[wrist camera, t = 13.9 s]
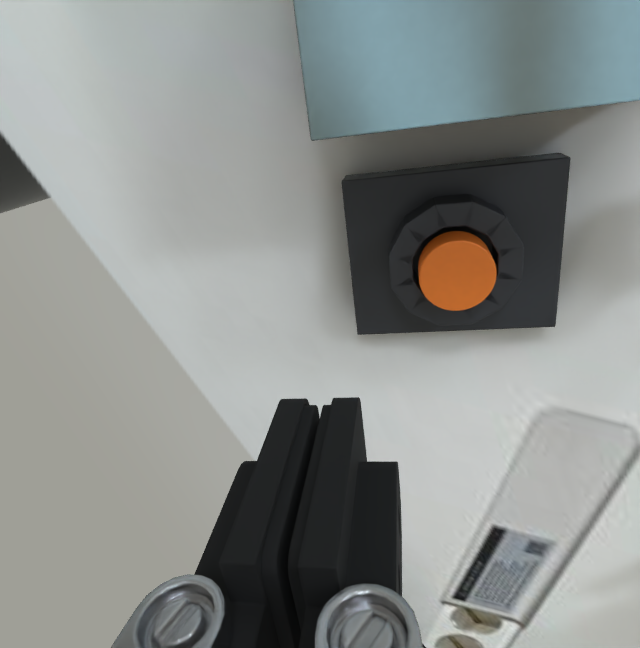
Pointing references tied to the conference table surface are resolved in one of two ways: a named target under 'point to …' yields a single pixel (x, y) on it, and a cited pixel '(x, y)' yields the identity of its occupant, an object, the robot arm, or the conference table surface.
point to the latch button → (456, 271)
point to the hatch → (461, 60)
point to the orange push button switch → (457, 215)
